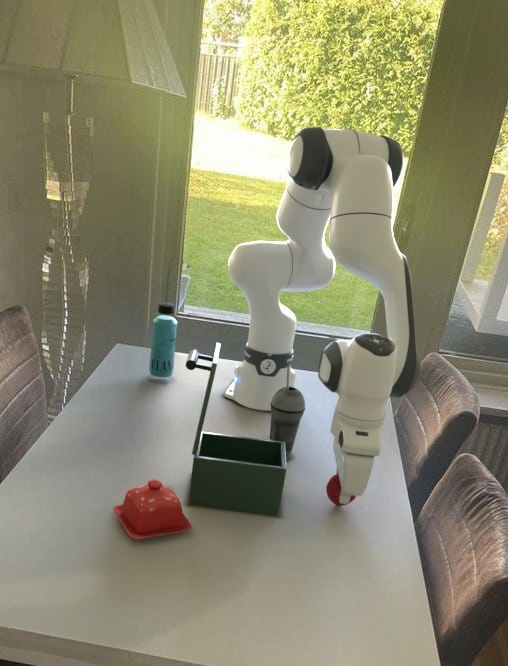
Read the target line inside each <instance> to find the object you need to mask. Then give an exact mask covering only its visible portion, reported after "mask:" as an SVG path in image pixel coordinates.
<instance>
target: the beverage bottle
mask: <svg viewBox="0 0 508 666" xmlns="http://www.w3.org/2000/svg"><path fill="white" fill-rule="evenodd" d="M157 312H158V313H159V314H162V315H157V316H156V317H155V318H154V319H153V320H152V335H151V348H150V354H149V355H150V357H149V368H148V371H149V375H150V376H153V377H155V378H170V377H172V376H173V373H174V370H175V369H174V368H175V365H174V364H175V356H176V355H175V350H176V345H177V344H176V343H177V342H176V341H177V325H178V321H177V320H176V319H175V318H174V317H173V316H171V315H173V314H174V315H175V304H173V303H170V302H160V303H159V304H158V308H157Z"/></svg>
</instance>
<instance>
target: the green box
mask: <svg viewBox="0 0 508 666" xmlns="http://www.w3.org/2000/svg"><path fill="white" fill-rule="evenodd" d="M191 468H192V470H191V479H190V488H189V496H188V505H190V506H198V507H205V508H206V507H207V508H214V509H220V510H228V511H235V512H244V513H250V514H259V515H266V516H273V517H274V516H275V517H279V513H280V507H281V503H282V496H283V491H284V485H285V481H286V474H287V460H286V453H285V442H281V441H273V440H270V439H264V438H256V437H249V436H241V435H232V434H225V433H216V432H208V431H202V432H201V436H200V441H199V445H198V449H197V453H196V455H193V459H192V467H191Z"/></svg>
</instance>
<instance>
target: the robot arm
mask: <svg viewBox="0 0 508 666" xmlns="http://www.w3.org/2000/svg"><path fill="white" fill-rule="evenodd" d="M404 156H405V155H404V152H403V148H402V145H401V144H400V142H398V141H397V140H396V139H394V138H392V137H389V136H387V135H384V134H383V135H382V134H381V135H377V134H374V133H371V132H366V131H363V130H356V129H342V128H341V129H339V128H323V127H321V126H313V127H312V126H311V127H305V128H302V129H301V130H300V131H298V133H297V134H296V135H295V136H294V137H293V139H292V141H291V144H290V147H289V151H288V154H287V173H288V177H289V180H288V182H287V184H286V187H285V190H284V193H283V195H282V198H281V200H280V203H279V206H278V209H277V211H276V222H277V226H278V228H279V230H280V231H281V232H282V233H283V235H285V236H286V237H287V238H288V240H287V241H267V240H255V241H250V242H244V243H240V244H238V245H236V246H235V248H234V249H233V250H232V252H231V254H230V256H229V258H228V266H227V267H228V274H229V278H230V279H231V281H232V283H233V284H234V285H235V287H237V288H238V289H239V290H240V292H242V294H243V296H244V297H245V299H246V302H247V305H248V308H249V327H248V328H249V329H248V336H247V342H246V344H245V348H244V350H243V361H242V362H241V363H239V364H238V365H236V366H235V368H234V378H233V381H232V383H231V384H230V386H229V387H228V388H227V389H226V391H225V393H224V397H225V398H227V399H230V400H232V401H234V402H236V403H238V404H239V405H242V406H243V407H246V408H249V409H252V410H256V411H257V410H258V411H268V412H271V405H270V404H271V402H272V398H273V396H274V395H275V393H276V392H277V391H278V390H280V389H281V388H284V387H286V385H287V367H288V366H290V375H289V387H294V388H295V385H296V384H295V383H296V377H297V375H296V372H295V370H294V369H293V368H292V363H293V359H294V352H295V351H294V349H293V346H294V341H295V336H296V330H297V318H296V315H295V314H294V313H293V311H291V309H289V308H288V307H287V306H285V305H283V304H282V303H281V301H280V294H281V292H293V293H294V292H297V293H298V292H299V293H300V292H301V293H302V292H303V293H306V292H312V291H317V290H322V289H325V288H326V287H328V285H329V284H330V283H331V281H332V280H333V278H334V276H335V272H336V262H337V263H338V265H340V266H341V267H342V268H343V269H344V270H346V271H347V272H349V273H351V275H354V276H357V277H359V278H361V279H362V280H364V281H366V282H368V283H369V284H371V285H373V286H374V287H375V288H376V289H377V290H378V292H380V294H381V296H382V299H383V301H384V309H385V311H384V312H385V321H386V323H385V324H386V336H387V337H386V336H384V335H382V334H379V333H374V332H363V333H362V332H361V333H359V334H356V335H355V336H354V337H353V338H352V339H338V340H333V341H331V342H329V344H328V345H326V346H325V348H324V349H323V350H322V352H321V354H320V358H319V363H318V371H317V373H318V374H317V376H318V380H319V381H320V383H322V385H324V387H325V388H326V389H328V390H329V391H330V392H331V393H336V394H337V395H338V399H337V402H336V403H335V407H334V411H333V415H332V421H331V425H330V433H331V434H332V435H333V436H334V438H333V444H332V448H333V449H332V450H333V454H334V458H335V463H336V471H335V475H336V474H339V479H340V484H341V491H340V494H339V502H340V503H341V504H347V505H349V504H350V503H349V501H350V497H351V495H354V496H356V497H361V496H362V495H363V494H364V493H365V492H366V490H367V487H368V484H369V480H370V477H371V474H372V471H373V468H374V463H375V457H378V456H380V453H381V449H382V432H383V427H384V422H385V418H386V413H387V411H386V410H387V409H386V406H387V401H388V399H389V397H391V398H395V399H396V398H397V399H399V398H401V397H403V396H405V395H407V394H408V393H409V392H410V391H411V390H413V389H414V388H415V387H416V386H417V384H418V383H419V381H420V379H421V375H422V374H421V373H422V364H421V357H420V353H419V348H418V343H417V335H416V324H415V312H414V311H415V310H414V301H413V300H414V298H413V286H412V277H411V270H410V264H409V261H408V259H407V256H406V255H405V254H403V253H402V252H401V251H400V250H399V247H398V245H397V242H396V239H395V237H394V229H393V223H394V222H393V221H394V187H396V185H397V184H398V182H399V180H400V178H401V176H402V172H403V169H404V164H405V163H404V162H405V161H404V160H405V159H404V158H405V157H404ZM328 224H329V228H328V230H329V231H328V242H329V247H328V246H327V245H326V241H325V233H326V230H327V227H328ZM348 503H349V504H348Z"/></svg>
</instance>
